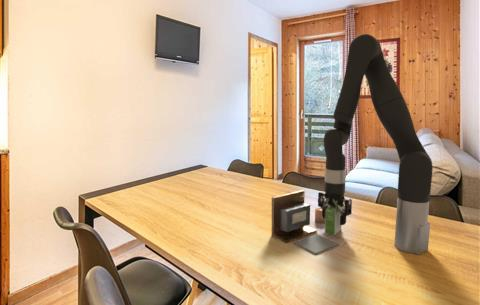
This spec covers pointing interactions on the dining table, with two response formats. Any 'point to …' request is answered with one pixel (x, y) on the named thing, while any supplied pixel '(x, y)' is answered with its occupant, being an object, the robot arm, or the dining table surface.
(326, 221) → the ink box
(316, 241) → the mat
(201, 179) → the dining table surface
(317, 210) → the brown egg
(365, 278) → the dining table surface
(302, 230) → the open brown box
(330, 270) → the dining table surface
